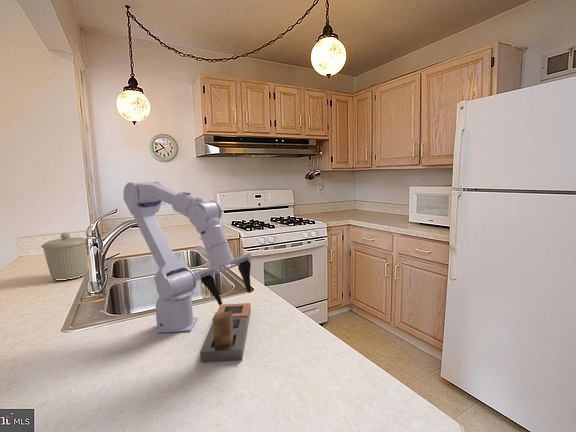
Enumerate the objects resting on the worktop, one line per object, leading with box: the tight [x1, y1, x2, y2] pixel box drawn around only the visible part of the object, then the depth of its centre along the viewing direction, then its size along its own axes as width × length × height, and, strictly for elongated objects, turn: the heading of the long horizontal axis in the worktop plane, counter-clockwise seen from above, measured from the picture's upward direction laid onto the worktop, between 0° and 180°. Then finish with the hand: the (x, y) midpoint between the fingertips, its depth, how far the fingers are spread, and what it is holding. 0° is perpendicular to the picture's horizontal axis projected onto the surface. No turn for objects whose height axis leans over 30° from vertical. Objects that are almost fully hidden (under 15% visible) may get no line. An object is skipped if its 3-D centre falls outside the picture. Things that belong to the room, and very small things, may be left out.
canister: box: [40, 232, 89, 280], centre depth 142 cm, size 18×18×21 cm
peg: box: [212, 311, 234, 347], centre depth 75 cm, size 4×4×9 cm
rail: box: [199, 302, 252, 363], centre depth 84 cm, size 9×27×3 cm, turn 3°
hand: (235, 298), depth 77 cm, fingers open, 7 cm apart
